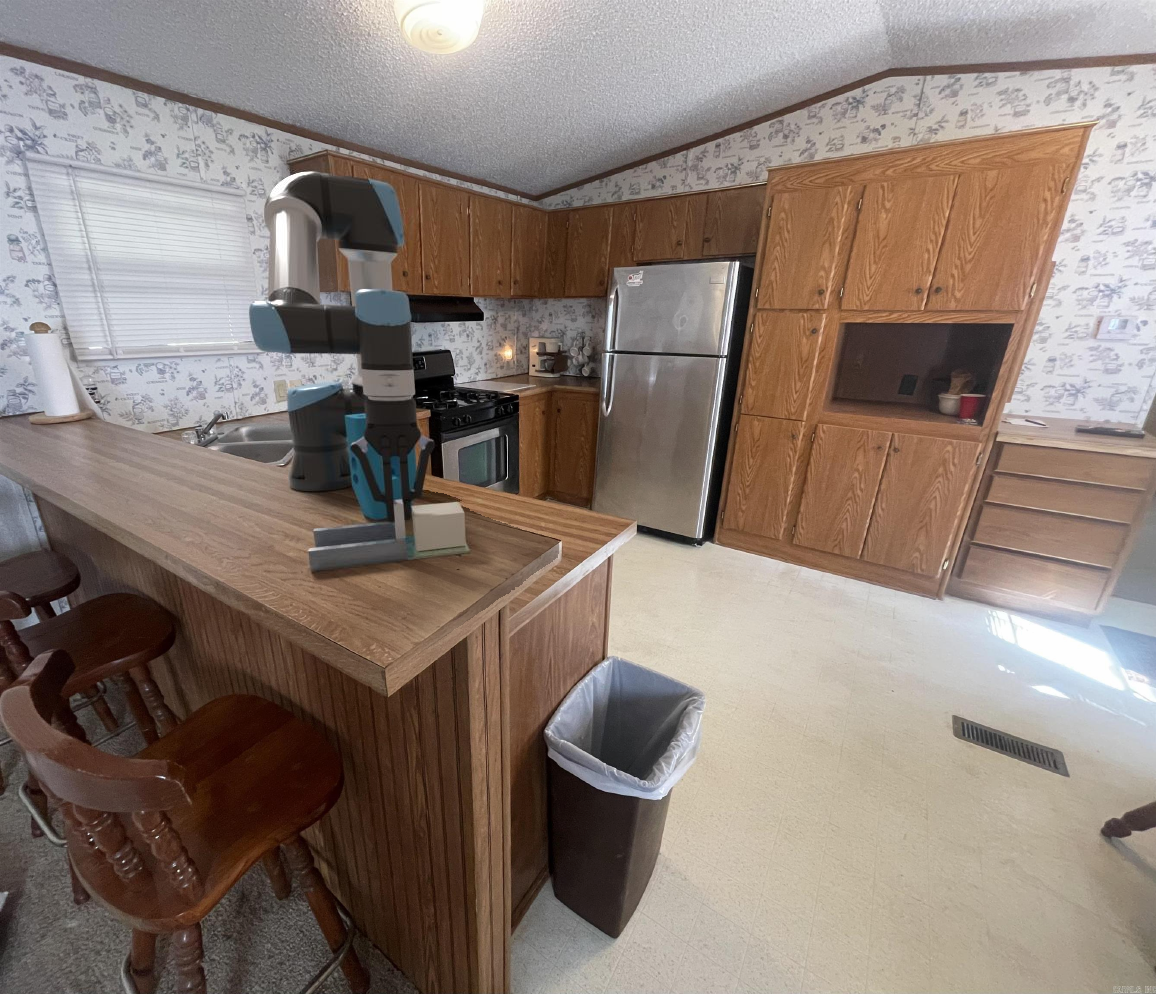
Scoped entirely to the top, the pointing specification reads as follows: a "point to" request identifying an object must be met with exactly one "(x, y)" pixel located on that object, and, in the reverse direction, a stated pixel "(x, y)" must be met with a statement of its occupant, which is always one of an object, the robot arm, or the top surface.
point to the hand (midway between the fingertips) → (400, 538)
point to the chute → (366, 547)
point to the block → (374, 470)
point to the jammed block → (438, 526)
